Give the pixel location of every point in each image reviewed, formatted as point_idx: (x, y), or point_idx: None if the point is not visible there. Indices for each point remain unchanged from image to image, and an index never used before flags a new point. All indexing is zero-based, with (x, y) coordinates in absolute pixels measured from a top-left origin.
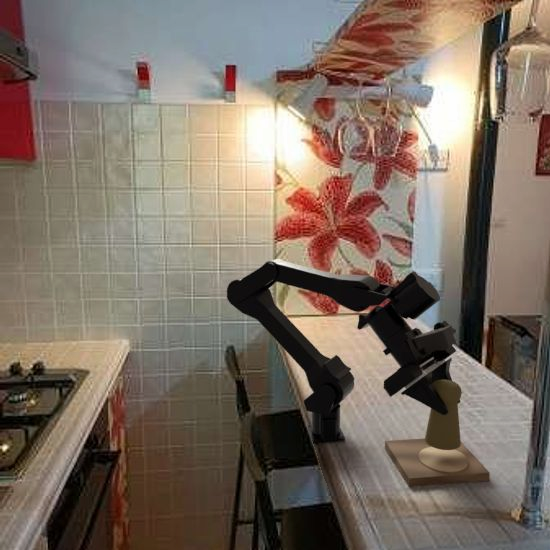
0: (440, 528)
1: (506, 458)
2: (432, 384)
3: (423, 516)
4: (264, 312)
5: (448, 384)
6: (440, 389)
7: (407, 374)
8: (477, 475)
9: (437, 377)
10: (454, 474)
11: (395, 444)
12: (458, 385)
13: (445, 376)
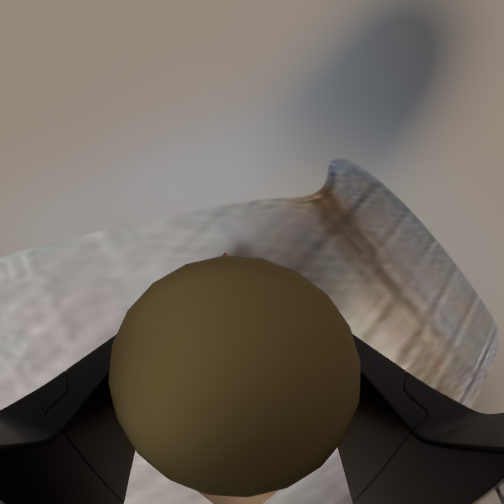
0: (429, 277)
1: (107, 257)
2: (418, 430)
3: (424, 314)
4: None
5: (278, 339)
6: (356, 377)
7: None
8: None
9: (87, 490)
10: None
11: (238, 497)
12: (193, 272)
13: (71, 433)
